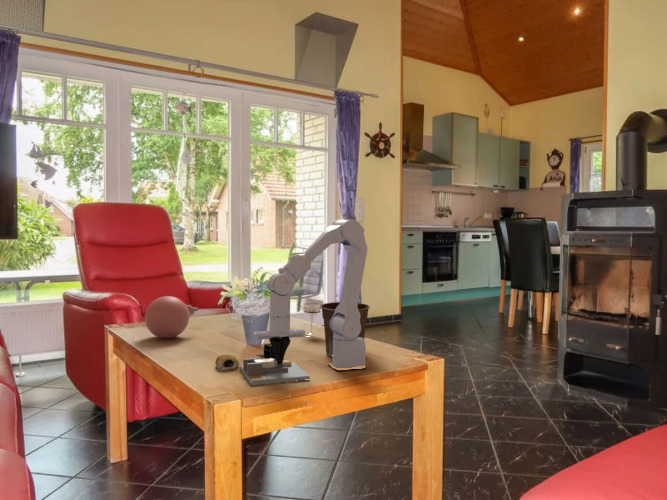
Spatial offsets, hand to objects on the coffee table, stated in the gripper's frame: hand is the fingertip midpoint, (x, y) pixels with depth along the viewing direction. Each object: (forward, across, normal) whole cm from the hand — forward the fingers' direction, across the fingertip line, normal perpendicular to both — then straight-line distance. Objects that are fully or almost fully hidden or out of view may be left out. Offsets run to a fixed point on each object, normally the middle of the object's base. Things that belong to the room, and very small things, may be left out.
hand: (279, 363), depth 149 cm
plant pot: (+3, +26, +16) cm, 31 cm away
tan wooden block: (+2, -4, 0) cm, 4 cm away
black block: (+4, +2, +20) cm, 20 cm away
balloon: (+3, -25, +58) cm, 63 cm away
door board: (+3, -2, 0) cm, 3 cm away
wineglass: (+3, +25, +47) cm, 54 cm away
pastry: (+3, -13, +13) cm, 18 cm away
